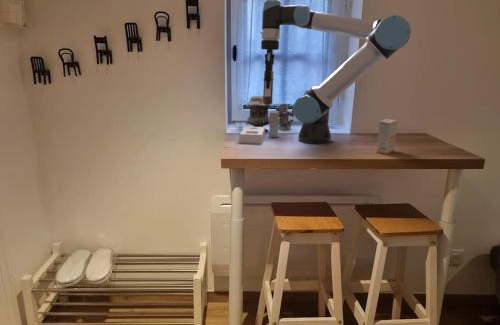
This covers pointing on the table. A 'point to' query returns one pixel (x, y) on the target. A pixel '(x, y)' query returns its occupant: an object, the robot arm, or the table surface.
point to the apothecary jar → (258, 112)
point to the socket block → (252, 135)
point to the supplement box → (386, 136)
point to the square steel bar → (273, 124)
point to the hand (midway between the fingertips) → (267, 95)
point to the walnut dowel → (269, 98)
